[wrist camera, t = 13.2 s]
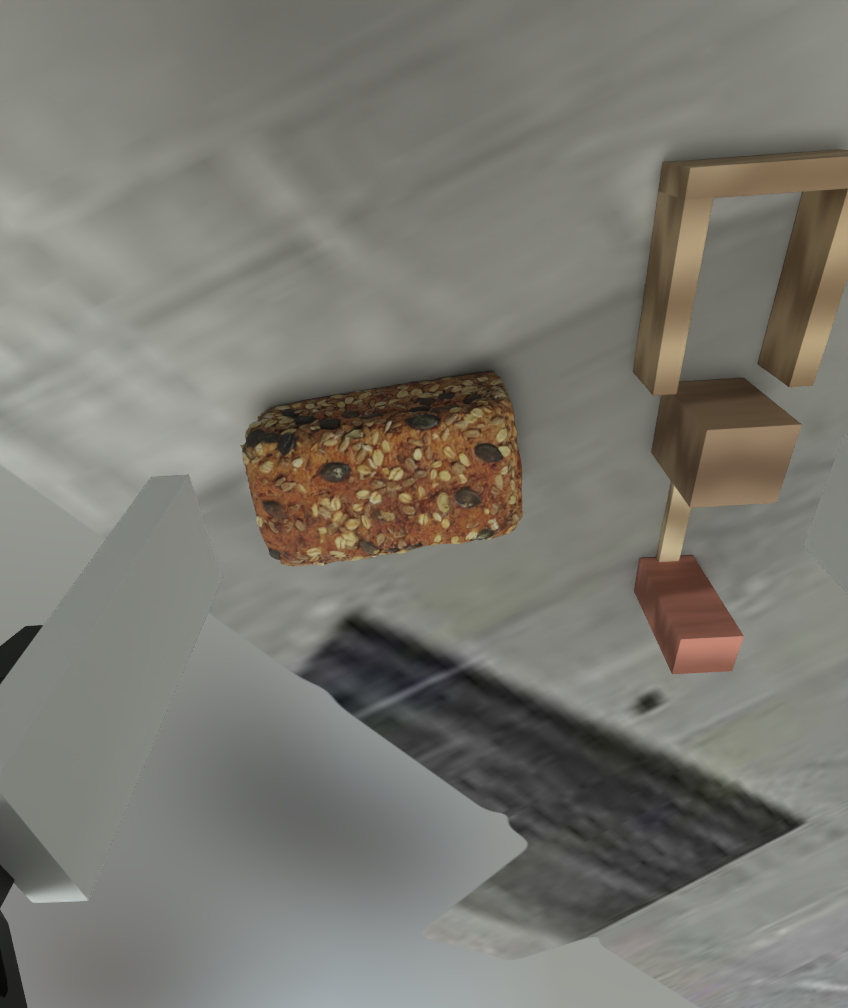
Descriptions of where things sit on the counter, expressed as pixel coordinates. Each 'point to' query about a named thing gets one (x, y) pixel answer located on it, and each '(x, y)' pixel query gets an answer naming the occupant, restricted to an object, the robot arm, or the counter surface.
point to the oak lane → (804, 279)
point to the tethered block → (701, 483)
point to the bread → (385, 470)
